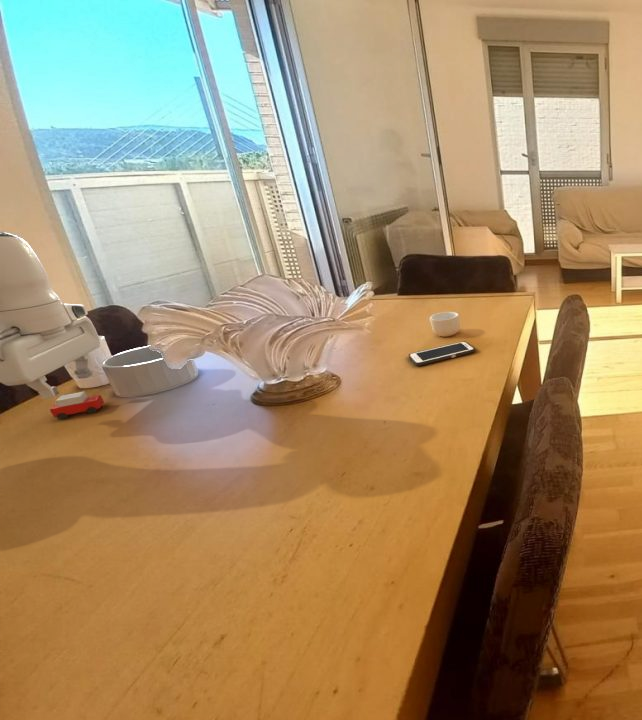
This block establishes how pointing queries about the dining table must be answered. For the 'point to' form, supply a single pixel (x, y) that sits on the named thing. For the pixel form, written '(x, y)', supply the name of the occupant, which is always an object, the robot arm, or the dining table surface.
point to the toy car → (75, 404)
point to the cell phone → (441, 353)
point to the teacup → (445, 323)
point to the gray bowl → (144, 373)
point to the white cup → (92, 367)
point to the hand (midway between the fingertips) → (69, 386)
